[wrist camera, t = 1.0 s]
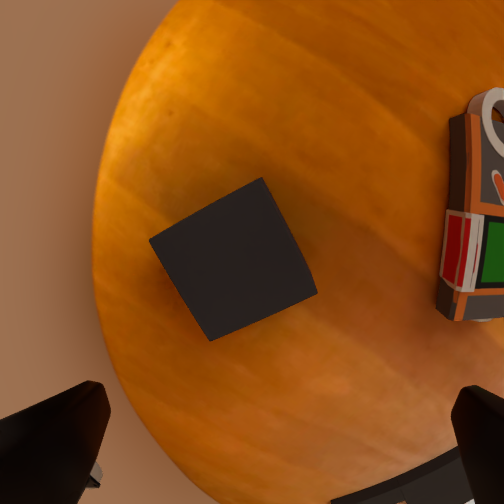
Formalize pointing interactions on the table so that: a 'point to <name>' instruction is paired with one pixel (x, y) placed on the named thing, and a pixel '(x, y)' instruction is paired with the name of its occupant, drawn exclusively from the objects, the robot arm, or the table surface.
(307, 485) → the table surface
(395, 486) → the flat black pad
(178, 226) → the dark grey square block
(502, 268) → the electronic device
